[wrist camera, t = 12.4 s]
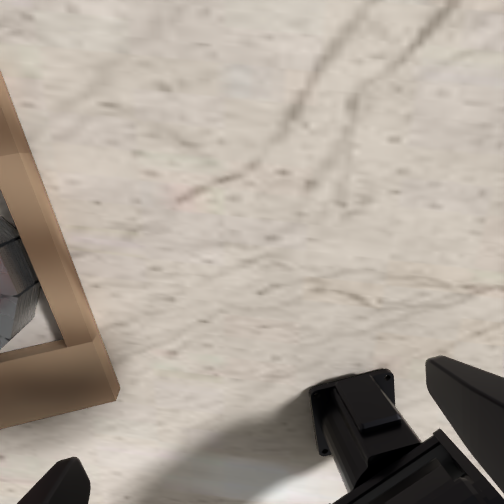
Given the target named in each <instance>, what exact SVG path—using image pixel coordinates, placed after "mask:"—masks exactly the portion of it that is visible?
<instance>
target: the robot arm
mask: <svg viewBox="0 0 504 504" xmlns="http://www.w3.org/2000/svg"><path fill="white" fill-rule="evenodd" d="M425 366H426V384H427V388H428V391H429V393H430V395H431V396H432V398H433V399H434V401H435V402H436V403H437V405H438V406H439V408H440V409H441V411H442V412H443V414H444V415H445V417H446V418H447V420H448V421H449V422H450V424H451V425H452V427H453V428H454V430H455V431H456V433H457V434H458V436H459V437H460V439H461V440H462V441H463V443H464V444H465V446H466V447H467V448H468V450H469V451H470V452H471V454H472V455H473V456H474V458H475V459H476V460H477V461H478V463H479V464H480V465H481V466H482V467H483V469H484V470H485V471H486V472H487V474H488V475H489V476H490V477H491V478H492V480H493V481H494V482H495V483H496V484H497V486H498V487H499V488H500V489H501V491H502V492H503V493H504V378H503V377H500V376H498V375H495V374H492V373H489V372H487V371H484V370H481V369H478V368H476V367H473V366H470V365H468V364H465V363H462V362H459V361H457V360H454V359H451V358H448V357H446V356H436V357H433V358H429V359H427V360H426V364H425ZM386 375H387V376H386ZM385 376H386V377H385ZM316 393H318V394H317V395H315V394H316ZM309 397H310V404H311V410H312V417H313V423H314V430H315V436H316V443H317V449H318V452H319V454H320V455H321V456H328V455H331V454H332V456H333V459H334V461H335V463H336V466H337V468H338V470H339V473H340V475H341V477H342V480H343V482H344V485H345V487H346V489H347V492H348V493H347V494H346V495H344V496H343V497H341V498H340V499H338V500H337V501H336V502H334V503H333V504H504V499H503V498H502V496H501V495H500V494H499V493H498V492H497V491H496V490H495V488H494V487H493V486H492V485H491V484H490V483H489V482H488V480H487V479H486V478H485V477H484V476H483V475H482V474H481V473H480V472H479V470H478V469H477V468H476V467H475V466H474V465H473V464H472V463H471V462H470V461H469V460H468V458H467V457H466V456H465V455H464V454H463V453H462V452H461V451H460V450H459V449H458V448H457V446H456V445H455V444H454V443H453V442H452V441H451V440H450V439H449V438H448V437H447V435H446V434H445V433H444V432H443V431H442V430H441V429H438V430H437V431H435V432H434V433H433V436H431V437H430V438H428V439H427V440H425V441H424V442H421V440H420V439H419V438H418V436H417V435H416V434H415V432H414V431H413V430H412V428H411V427H410V426H409V424H408V423H407V422H406V420H405V419H404V418H403V416H402V415H401V414H400V412H399V411H398V410H397V408H396V407H395V392H394V376H393V374H392V372H391V371H390V370H389V369H382V370H379V371H375V372H371V373H367V374H363V375H359V376H355V377H351V378H347V379H343V380H339V381H335V382H331V383H327V384H324V385H320V386H316V387H313V388H311V389H310V391H309ZM90 487H91V486H90V480H89V478H88V476H87V474H86V472H85V470H84V468H83V466H82V464H81V462H80V460H79V459H78V458H77V457H71V458H67V459H64V460H61V461H58V462H57V463H56V464H55V465H54V466H53V467H52V468H51V469H50V470H49V471H48V472H47V473H46V474H45V475H44V476H43V477H42V478H41V479H40V480H39V481H38V482H37V483H36V484H35V485H34V486H33V487H32V488H31V489H30V491H29V492H28V493H27V494H26V495H25V496H24V497H23V498H22V499H21V500H20V501H19V502H18V503H17V504H88V502H89V496H90ZM329 504H330V503H329Z"/></svg>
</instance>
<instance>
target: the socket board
mask: <svg viewBox="0 0 504 504" xmlns="http://www.w3.org/2000/svg"><path fill="white" fill-rule="evenodd" d="M0 190H1V192H2V194H3V197H4V199H5V201H6V204H7V206H8V208H9V211H10V213H11V216H12V218H13V220H14V223H15V225H16V227H17V229H15V228H14V227H13V226H12V225H11V224H10V223H8V222H7V221H6V220H5V219H4V218H2V217H1V216H0V349H1V348H2V347H3V346H4V345H6V344H7V343H8V342H9V341H10V340H11V339H12V338H13V337H14V336H15V335H16V334H17V333H18V332H19V331H20V330H21V329H23V328H24V327H25V326H26V325H27V324H28V323H29V322H30V321H31V320H32V318H33V317H34V314H35V310H36V305H37V300H38V295H39V290H40V285H41V287H42V289H43V291H44V294H45V296H46V298H47V301H48V303H49V306H50V308H51V310H52V313H53V315H54V317H55V320H56V322H57V325H58V327H59V329H60V332H61V334H62V336H63V339H62V340H58V341H53V342H49V343H45V344H40V345H36V346H31V347H27V348H23V349H18V350H14V351H10V352H5V353H1V354H0V429H3V428H7V427H11V426H15V425H19V424H23V423H27V422H31V421H36V420H40V419H44V418H48V417H52V416H56V415H60V414H64V413H68V412H72V411H76V410H80V409H84V408H88V407H93V406H97V405H101V404H105V403H109V402H113V401H116V399H117V396H118V393H119V391H120V385H119V383H118V380H117V377H116V375H115V372H114V370H113V367H112V364H111V362H110V359H109V356H108V354H107V351H106V348H105V346H104V343H103V341H102V338H101V335H100V333H99V330H98V327H97V325H96V322H95V319H94V317H93V314H92V311H91V309H90V306H89V304H88V301H87V298H86V296H85V293H84V290H83V288H82V285H81V282H80V280H79V277H78V274H77V272H76V269H75V267H74V264H73V261H72V259H71V256H70V253H69V251H68V248H67V245H66V243H65V240H64V238H63V235H62V232H61V230H60V227H59V224H58V222H57V219H56V216H55V214H54V211H53V208H52V206H51V203H50V201H49V198H48V195H47V193H46V190H45V187H44V185H43V182H42V179H41V177H40V174H39V172H38V169H37V166H36V164H35V161H34V158H33V156H32V153H31V150H30V148H29V145H28V142H27V140H26V137H25V135H24V132H23V129H22V127H21V124H20V121H19V119H18V116H17V113H16V111H15V108H14V105H13V103H12V100H11V98H10V95H9V92H8V90H7V87H6V84H5V82H4V79H3V76H2V74H1V71H0ZM19 237H21V238H19Z"/></svg>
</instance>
